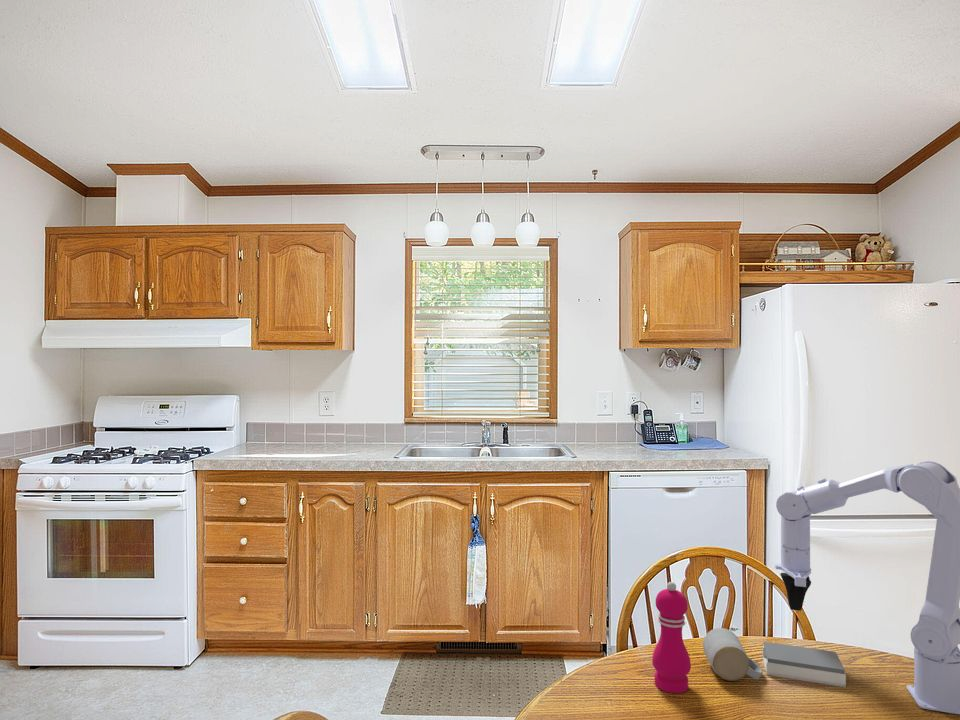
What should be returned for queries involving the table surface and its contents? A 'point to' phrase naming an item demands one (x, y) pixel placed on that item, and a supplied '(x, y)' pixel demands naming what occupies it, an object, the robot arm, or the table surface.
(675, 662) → the pepper mill
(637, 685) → the table surface
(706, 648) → the ceramic mug
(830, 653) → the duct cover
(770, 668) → the cable duct
